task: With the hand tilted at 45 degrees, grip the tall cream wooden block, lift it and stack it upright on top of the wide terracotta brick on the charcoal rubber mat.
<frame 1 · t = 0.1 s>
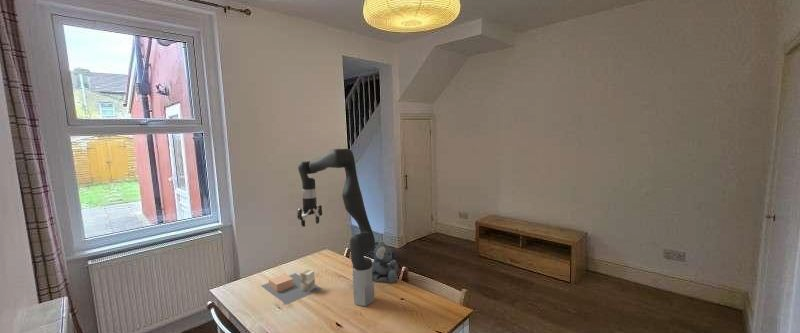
hand: (310, 224, 179), 29 cm above the table, tool pointing down, fingers open, 8 cm apart
cream block: (308, 288, 164), point 1 cm above the table, touching building mat
terracotta brick: (281, 286, 167), point 1 cm above the table, touching building mat
building mat: (291, 288, 166), on the table
koala plush: (382, 277, 178), on the table
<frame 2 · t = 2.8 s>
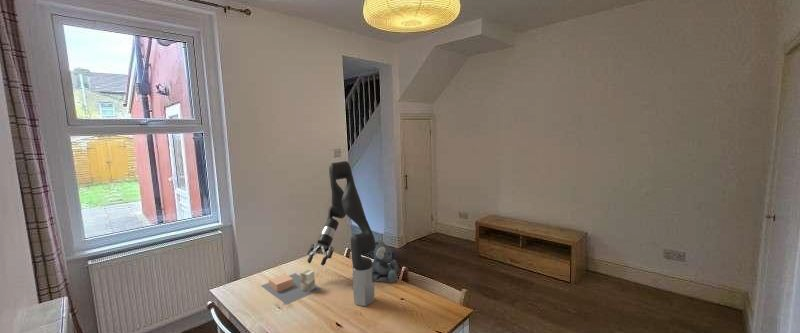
hand: (315, 263, 169), 11 cm above the table, tool tilted 45°, fingers open, 8 cm apart
nothing on the table moved.
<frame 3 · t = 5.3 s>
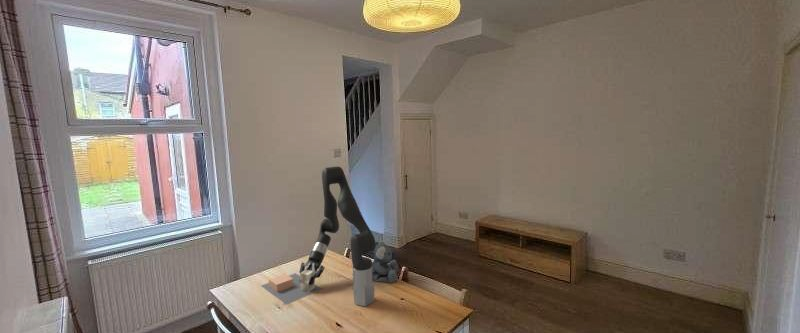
hand: (305, 283, 162), 4 cm above the table, tool tilted 45°, fingers closed on cream block, 5 cm apart
cream block: (307, 288, 164), point 1 cm above the table, touching building mat, gripper
everything else where it was.
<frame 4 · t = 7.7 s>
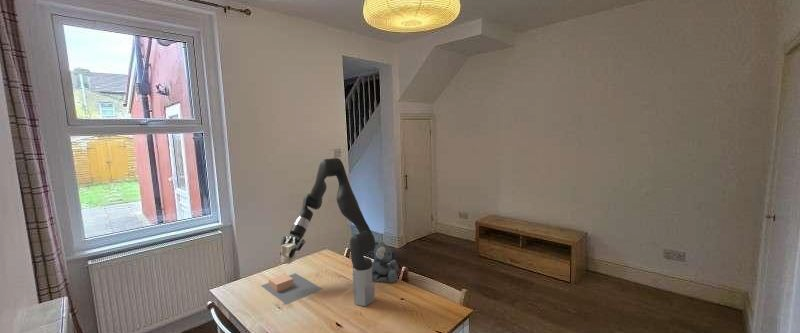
hand: (285, 256, 163), 18 cm above the table, tool tilted 45°, fingers closed on cream block, 5 cm apart
cream block: (288, 261, 165), point 14 cm above the table, touching gripper
everything else where it was.
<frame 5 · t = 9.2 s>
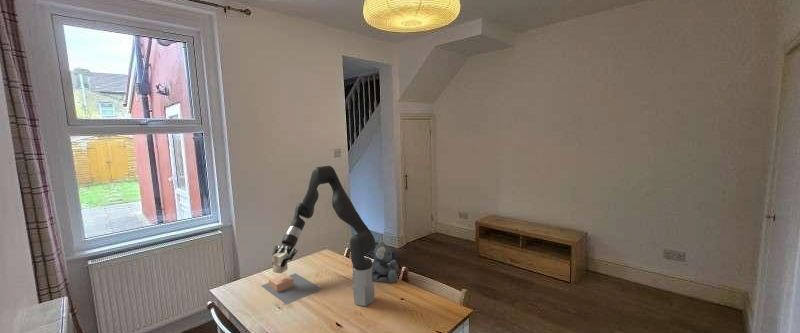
hand: (277, 265, 164), 13 cm above the table, tool tilted 45°, fingers closed on cream block, 5 cm apart
cream block: (280, 270, 166), point 9 cm above the table, touching gripper
everything else where it was.
when the fingers open (9 cm above the table, at t = 10.4 s): cream block drops 1 cm, resting on terracotta brick.
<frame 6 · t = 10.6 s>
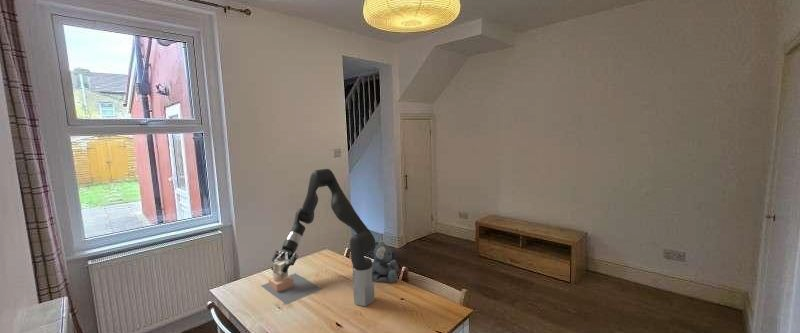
hand: (278, 271, 164), 10 cm above the table, tool tilted 45°, fingers open, 6 cm apart
cream block: (280, 278, 166), point 5 cm above the table, touching terracotta brick
terracotta brick: (281, 286, 167), point 1 cm above the table, touching building mat, cream block
everything else where it was.
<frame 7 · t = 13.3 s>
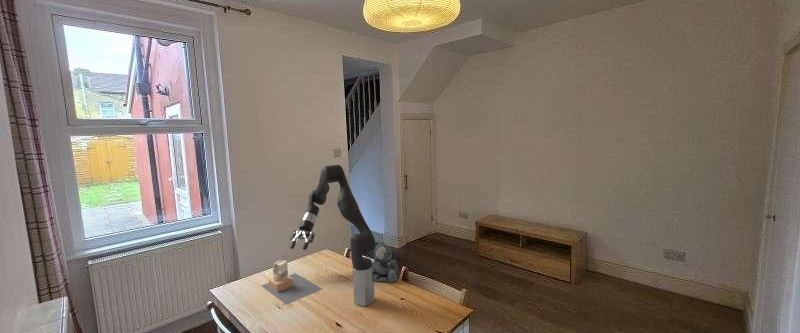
hand: (297, 248, 175), 17 cm above the table, tool tilted 40°, fingers open, 8 cm apart
nothing on the table moved.
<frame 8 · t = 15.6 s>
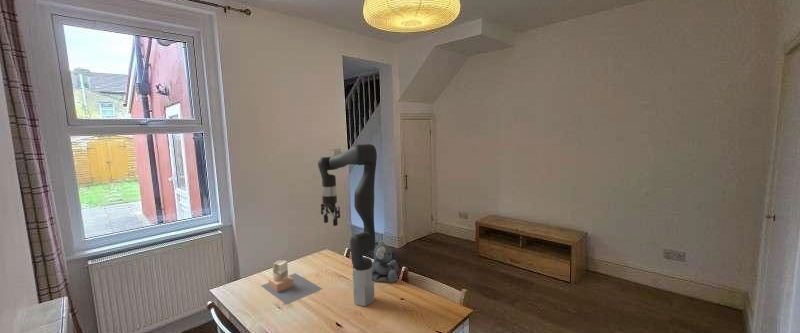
hand: (330, 224, 169), 32 cm above the table, tool pointing down, fingers open, 8 cm apart
nothing on the table moved.
at the end: cream block 0.1 cm off-centre on the terracotta brick, point 4.0 cm above the terracotta brick's base; cream block tilted 0°; the gripper is holding nothing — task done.
